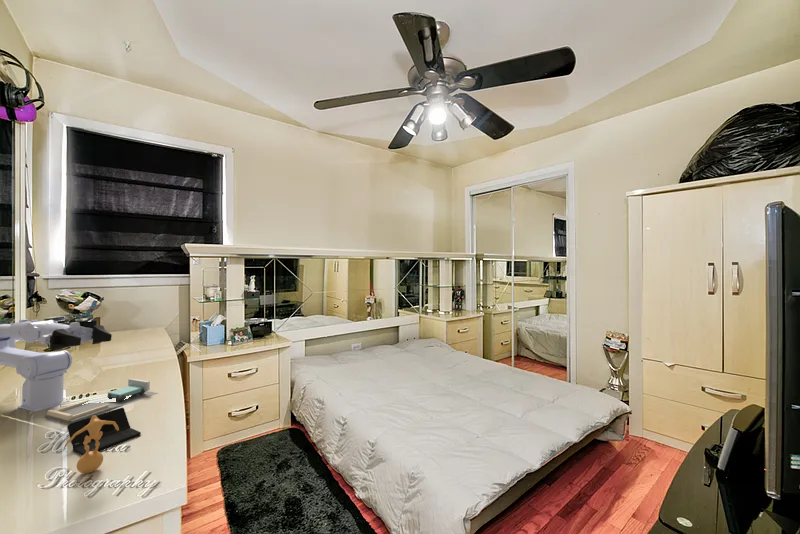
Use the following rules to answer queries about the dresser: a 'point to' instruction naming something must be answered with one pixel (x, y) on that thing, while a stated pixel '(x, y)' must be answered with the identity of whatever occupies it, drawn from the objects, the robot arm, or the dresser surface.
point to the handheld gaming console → (109, 432)
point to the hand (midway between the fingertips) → (95, 339)
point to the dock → (90, 408)
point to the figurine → (93, 458)
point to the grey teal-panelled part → (130, 389)
